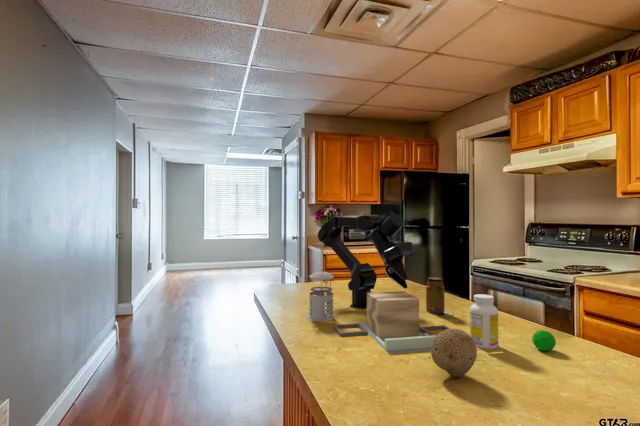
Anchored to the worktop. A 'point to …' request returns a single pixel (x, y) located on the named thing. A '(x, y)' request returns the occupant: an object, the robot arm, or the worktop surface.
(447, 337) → the natural sponge
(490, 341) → the supplement bottle
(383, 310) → the oak block
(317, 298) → the french press
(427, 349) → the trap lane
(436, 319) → the worktop surface
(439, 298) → the condiment
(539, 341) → the polyhedron
